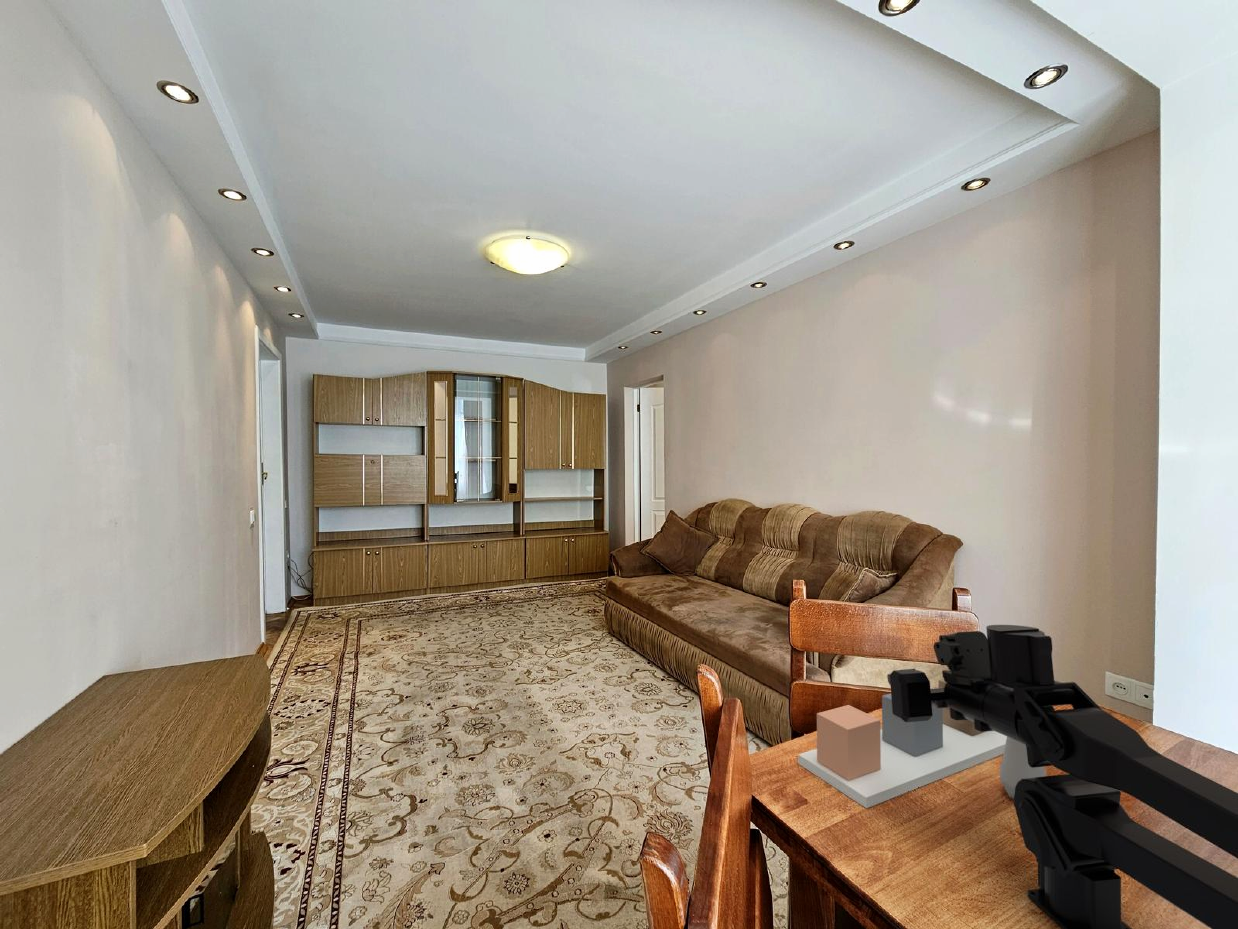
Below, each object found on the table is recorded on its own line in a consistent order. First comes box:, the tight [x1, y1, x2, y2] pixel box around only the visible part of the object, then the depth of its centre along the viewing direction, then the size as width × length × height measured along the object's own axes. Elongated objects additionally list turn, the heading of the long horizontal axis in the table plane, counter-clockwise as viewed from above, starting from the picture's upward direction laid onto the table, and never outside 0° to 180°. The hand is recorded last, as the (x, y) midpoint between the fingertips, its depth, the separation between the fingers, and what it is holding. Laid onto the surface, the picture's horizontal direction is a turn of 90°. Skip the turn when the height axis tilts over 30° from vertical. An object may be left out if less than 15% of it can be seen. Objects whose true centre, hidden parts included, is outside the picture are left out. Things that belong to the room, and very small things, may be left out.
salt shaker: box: [998, 737, 1048, 800], centre depth 80 cm, size 6×6×13 cm
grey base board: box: [797, 724, 1007, 809], centre depth 91 cm, size 39×13×2 cm, turn 116°
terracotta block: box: [816, 704, 881, 780], centre depth 85 cm, size 6×7×8 cm
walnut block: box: [937, 678, 982, 736], centre depth 98 cm, size 6×7×8 cm
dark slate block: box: [881, 692, 943, 756], centre depth 92 cm, size 6×7×8 cm
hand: (916, 675), depth 83 cm, fingers open, 9 cm apart
